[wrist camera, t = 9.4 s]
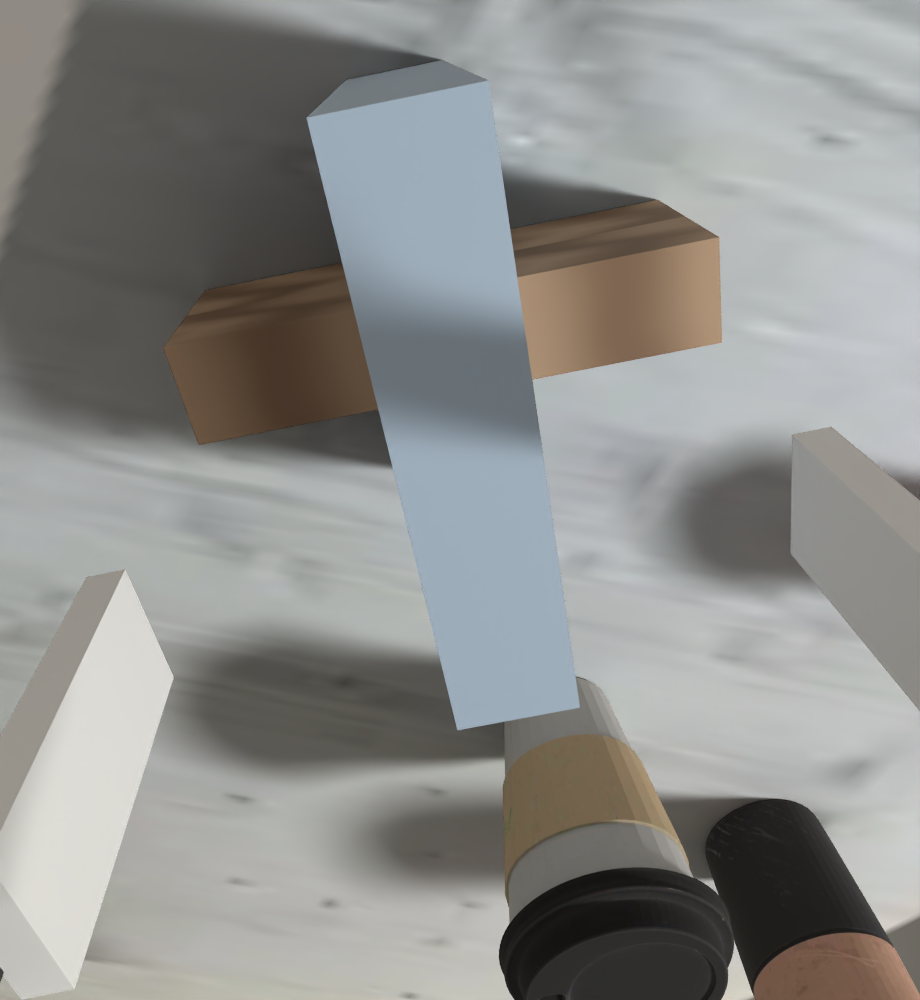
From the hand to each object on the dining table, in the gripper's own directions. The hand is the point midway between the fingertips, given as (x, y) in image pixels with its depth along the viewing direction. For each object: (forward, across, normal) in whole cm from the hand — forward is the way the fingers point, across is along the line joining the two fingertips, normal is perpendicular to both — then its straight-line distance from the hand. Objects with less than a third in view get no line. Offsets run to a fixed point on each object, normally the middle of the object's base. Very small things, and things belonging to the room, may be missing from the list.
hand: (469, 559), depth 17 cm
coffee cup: (+20, +3, -24) cm, 31 cm away
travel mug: (+20, +14, -37) cm, 44 cm away
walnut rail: (+20, +1, 0) cm, 20 cm away
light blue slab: (+20, +1, 0) cm, 20 cm away
